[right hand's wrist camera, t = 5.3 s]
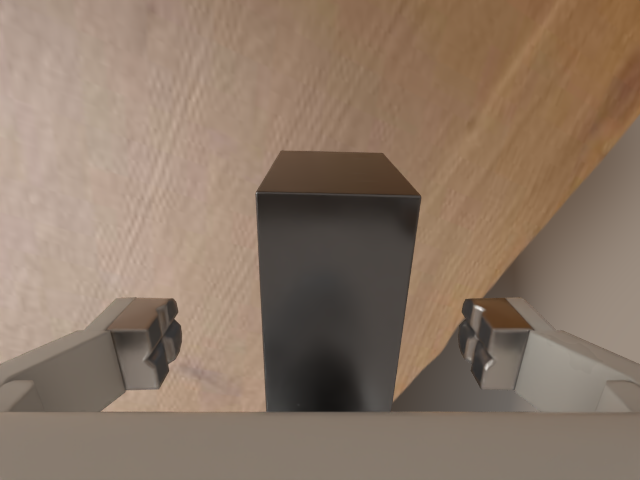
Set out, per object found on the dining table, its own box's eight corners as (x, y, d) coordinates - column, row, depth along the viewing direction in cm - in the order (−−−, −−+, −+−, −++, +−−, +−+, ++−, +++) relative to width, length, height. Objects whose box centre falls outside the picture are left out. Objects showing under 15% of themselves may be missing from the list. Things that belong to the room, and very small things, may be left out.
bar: (280, 150, 20) (255, 191, 13) (383, 152, 20) (422, 195, 13) (286, 466, 31) (275, 595, 23) (354, 467, 31) (365, 597, 23)
